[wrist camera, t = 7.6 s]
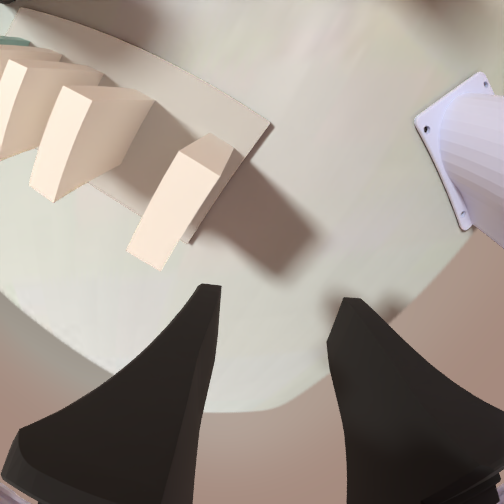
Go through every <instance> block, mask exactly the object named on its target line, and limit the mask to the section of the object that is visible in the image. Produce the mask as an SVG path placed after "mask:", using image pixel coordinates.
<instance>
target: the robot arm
mask: <svg viewBox="0 0 504 504" xmlns="http://www.w3.org/2000/svg"><path fill="white" fill-rule="evenodd" d="M484 83H485V87H484ZM414 124H415V127H416V128H417V130H418V132H419V134H420V136H421V138H422V139H423V141H424V143H425V145H426V147H427V149H428V151H429V153H430V155H431V157H432V159H433V162H434V164H435V166H436V168H437V170H438V172H439V175H440V177H441V179H442V181H443V184H444V186H445V189H446V191H447V193H448V196H449V198H450V201H451V204H452V206H453V209H454V212H455V214H456V217H457V220H458V223H459V226H460V228H461V229H463V230H467V229H469V228H470V227H471V226H472V225H474V226H475V227H477V228H478V229H479V230H481V231H482V232H483V233H485V234H486V235H487V236H489V237H490V238H491V239H492V240H494V241H495V242H496V243H497V244H499V245H500V246H501V247H502V248H503V249H504V96H499V95H494V93H493V90H492V88H491V86H490V84H489V81H488V79H487V77H486V75H485V74H484V73H483V72H477V73H475V74H474V75H473V76H471V77H470V78H468V79H467V80H466V81H464V82H463V83H462V84H460V85H459V86H457V87H456V88H455V89H453V90H452V91H450V92H449V93H448V94H446V95H445V96H443V97H442V98H441V99H439V100H438V101H437V102H435V103H434V104H432V105H431V106H430V107H428V108H427V109H426V110H424V111H423V112H421V113H420V114H419V115H417V116H416V117H415V120H414ZM425 126H426V127H427V132H426V133H425V132H424V127H425ZM462 212H463V213H462ZM461 213H462V215H461ZM220 298H221V286H219V285H210V284H200V285H199V286H198V287H197V289H196V290H195V292H194V293H193V295H192V296H191V297H190V299H189V300H188V302H187V303H186V304H185V305H184V307H183V308H182V309H181V311H180V312H179V313H178V314H177V315H176V316H175V318H174V319H173V320H172V321H171V322H170V324H169V325H168V326H167V327H166V328H165V329H164V330H163V331H162V332H161V333H160V334H159V335H158V336H157V337H156V338H155V339H154V341H153V342H152V343H151V344H150V345H149V346H148V347H147V348H146V349H144V350H143V351H142V352H141V353H140V354H139V355H138V356H137V357H136V358H135V359H133V360H132V361H131V362H130V363H129V364H128V365H126V366H125V367H124V368H123V369H122V370H120V371H119V372H118V373H116V374H115V375H114V376H113V377H111V378H110V379H108V380H107V381H106V382H104V383H103V384H102V385H100V386H99V387H98V388H96V389H94V390H93V391H91V392H90V393H88V394H86V395H85V396H83V397H82V398H80V399H78V400H77V401H75V402H74V403H72V404H70V405H69V406H67V407H65V408H63V409H62V410H60V411H58V412H56V413H54V414H52V415H49V416H47V417H45V418H43V419H41V420H39V421H37V422H34V423H32V424H30V425H28V426H25V427H23V428H21V429H19V431H18V433H17V435H16V437H15V439H14V440H13V443H12V445H11V448H10V450H9V453H8V455H7V458H6V461H5V464H4V466H3V469H2V472H1V476H2V478H3V480H4V481H6V482H7V483H9V484H10V485H12V486H13V487H15V488H17V489H18V490H20V491H21V492H23V493H25V494H26V495H28V496H30V497H31V498H33V499H35V500H37V501H38V504H192V502H193V490H194V478H195V467H196V456H197V447H198V438H199V430H200V424H201V418H202V414H203V410H204V405H205V401H206V396H207V392H208V388H209V383H210V379H211V375H212V370H213V366H214V361H215V354H216V345H217V337H218V325H219V311H220ZM327 351H328V360H329V368H330V372H331V376H332V380H333V385H334V389H335V393H336V397H337V401H338V406H339V409H340V414H341V419H342V423H343V429H344V435H345V447H346V461H347V504H504V483H503V484H502V485H500V486H499V487H497V488H496V485H495V484H497V483H498V482H500V480H501V478H500V475H499V472H500V471H502V470H503V469H504V411H502V410H500V409H498V408H496V407H494V406H492V405H490V404H488V403H486V402H484V401H483V400H481V399H479V398H477V397H476V396H474V395H472V394H471V393H469V392H468V391H466V390H465V389H463V388H461V387H460V386H459V385H457V384H456V383H454V382H453V381H451V380H450V379H449V378H447V377H446V376H445V375H444V374H442V373H441V372H440V371H438V370H437V369H436V368H435V367H433V366H432V365H431V364H430V363H428V362H427V361H426V360H425V359H424V358H423V357H422V356H421V355H419V354H418V353H417V352H416V351H415V350H414V349H413V348H412V347H411V346H410V345H409V344H408V343H406V342H405V341H404V340H403V339H402V338H401V337H400V336H399V335H398V334H397V333H396V332H395V331H394V330H393V329H392V328H391V327H390V326H389V325H388V324H387V323H386V322H385V321H384V320H383V319H382V318H381V317H380V316H379V315H378V314H377V313H376V312H375V311H374V310H373V309H372V308H371V307H370V306H369V305H367V304H366V303H365V302H364V301H363V300H362V299H360V298H347V297H344V298H343V301H342V303H341V306H340V309H339V312H338V314H337V317H336V319H335V322H334V325H333V327H332V330H331V332H330V335H329V337H328V340H327ZM0 504H32V503H30V502H28V501H26V500H25V499H23V498H21V497H20V496H18V495H17V494H16V493H15V492H14V491H13V490H11V489H10V488H8V487H7V486H5V485H3V484H2V483H1V482H0Z"/></svg>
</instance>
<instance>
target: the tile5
mask: <svg viewBox="0 0 504 504" xmlns="http://www.w3.org/2000/svg"><path fill="white" fill-rule="evenodd" d="M29 44H30V41H28V40H25V39H22V38H19V37H8V36H0V45H18V46H29Z"/></svg>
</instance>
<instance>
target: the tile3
mask: <svg viewBox="0 0 504 504" xmlns="http://www.w3.org/2000/svg"><path fill="white" fill-rule="evenodd" d="M103 75H104V73H102V72H100V71H97V70H95V69H93V68H91V67H89V66H87V65H81V64H73V63H64V62H54V61H42V60H23V59H9V60H8V63H7V65H6V68H5V70H4V73H3V75H2V78H1V81H0V161H2V160H4V159H7V158H9V157H12V156H14V155H17V154H20V153H23V152H25V151H28V150H31V149H34V148H37V147H39V146H40V143H41V140H42V137H43V134H44V131H45V129H46V126H47V123H48V120H49V118H50V115H51V113H52V110H53V108H54V105H55V103H56V100H57V98H58V96H59V94H60V91H61V89H62V87H63V85H79V86H98V84H99V82H100V80H101V78H102V77H103Z"/></svg>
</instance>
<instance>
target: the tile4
mask: <svg viewBox="0 0 504 504" xmlns="http://www.w3.org/2000/svg"><path fill="white" fill-rule="evenodd" d="M61 57H62V54H60V53H58V52H55V51H53V50H51V49H47V48H38V47H29V46H18V45H0V81H1V78H2V75H3V73H4V70H5V68H6V65H7V63H8V60H9V59H23V60H42V61H54V62H59V61H60V59H61Z"/></svg>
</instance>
